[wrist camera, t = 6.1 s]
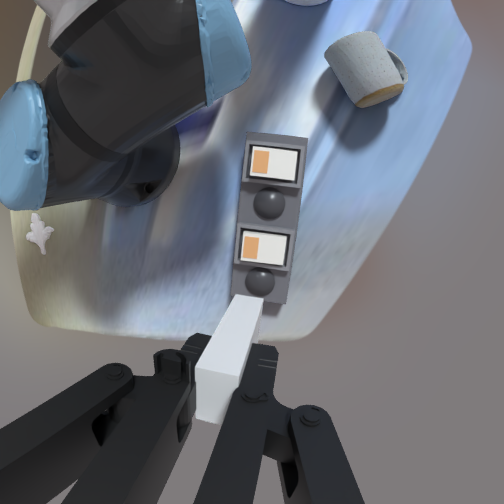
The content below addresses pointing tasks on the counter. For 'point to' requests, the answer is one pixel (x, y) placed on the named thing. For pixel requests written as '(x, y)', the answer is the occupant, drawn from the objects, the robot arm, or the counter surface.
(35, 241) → the acanthus leaf ornament
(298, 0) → the fruit juice
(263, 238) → the rocker outlet
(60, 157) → the robot arm
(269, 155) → the rocker outlet
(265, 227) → the power strip
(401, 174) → the counter surface
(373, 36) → the ceramic mug
